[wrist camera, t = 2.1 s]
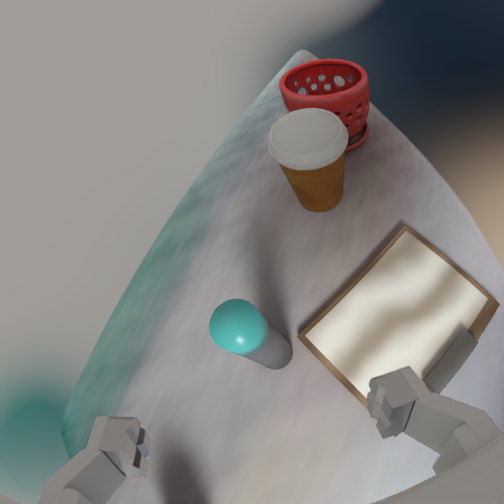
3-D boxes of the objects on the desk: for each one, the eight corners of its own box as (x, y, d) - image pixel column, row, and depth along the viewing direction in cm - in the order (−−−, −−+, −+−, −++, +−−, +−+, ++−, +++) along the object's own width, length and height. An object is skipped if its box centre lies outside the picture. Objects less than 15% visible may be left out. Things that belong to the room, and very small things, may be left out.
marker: (300, 353, 32) (270, 324, 21) (274, 377, 32) (229, 361, 21) (278, 329, 35) (238, 288, 23) (252, 352, 34) (200, 322, 23)
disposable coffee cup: (366, 204, 39) (363, 138, 29) (303, 233, 40) (282, 171, 30) (334, 161, 44) (322, 97, 34) (278, 185, 45) (254, 124, 35)
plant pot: (387, 130, 44) (384, 69, 34) (338, 174, 42) (328, 109, 32) (329, 104, 51) (317, 50, 41) (280, 141, 49) (259, 84, 40)
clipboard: (496, 307, 26) (504, 300, 24) (394, 435, 25) (397, 438, 23) (403, 229, 35) (406, 219, 33) (298, 338, 33) (294, 334, 31)
